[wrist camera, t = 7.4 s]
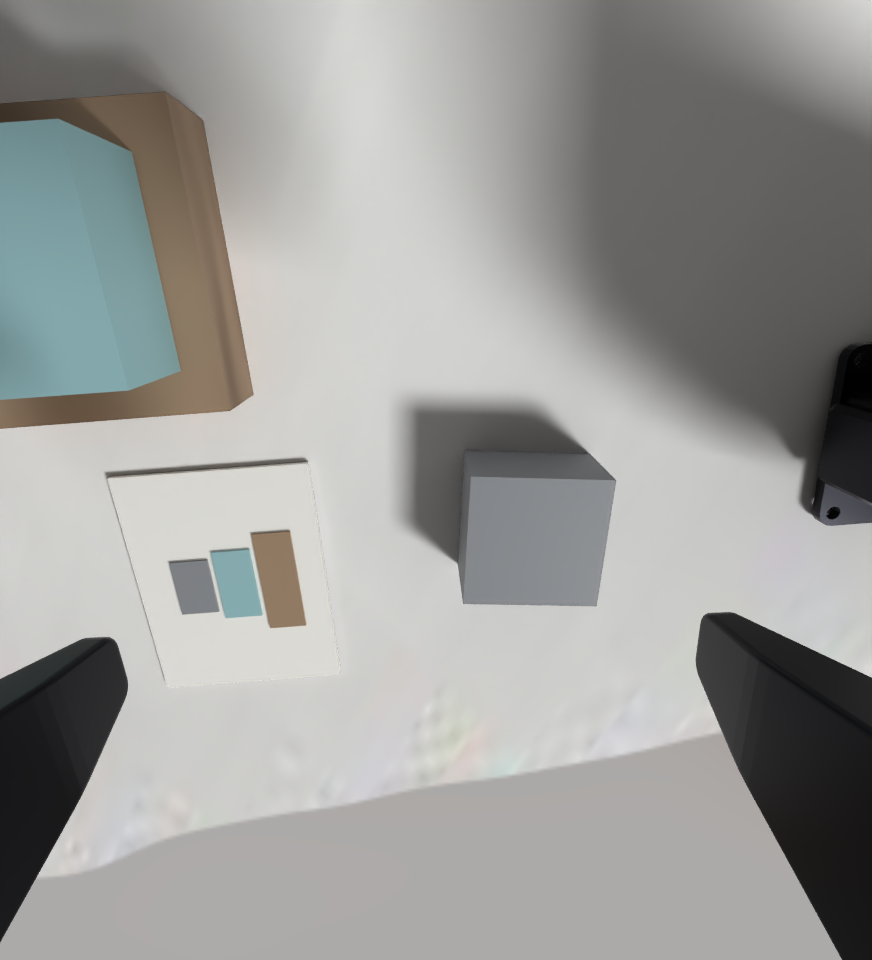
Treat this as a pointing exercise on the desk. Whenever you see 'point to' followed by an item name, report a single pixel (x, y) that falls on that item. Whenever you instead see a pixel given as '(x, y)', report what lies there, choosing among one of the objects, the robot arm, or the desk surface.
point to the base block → (160, 262)
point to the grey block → (533, 528)
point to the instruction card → (230, 572)
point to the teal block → (76, 267)
